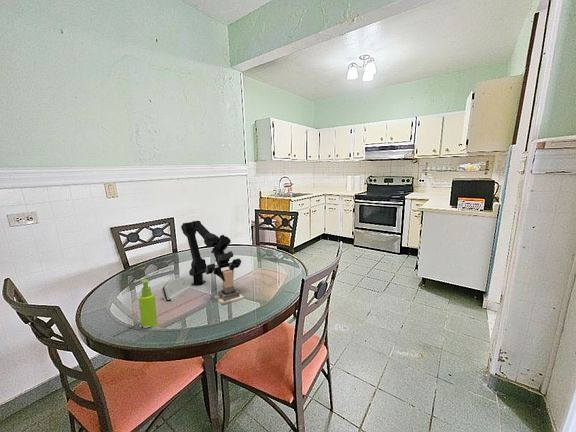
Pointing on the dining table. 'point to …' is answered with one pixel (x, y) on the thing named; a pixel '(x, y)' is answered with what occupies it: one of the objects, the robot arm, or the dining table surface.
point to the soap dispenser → (147, 305)
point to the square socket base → (228, 297)
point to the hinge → (175, 289)
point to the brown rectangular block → (228, 281)
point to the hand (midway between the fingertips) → (228, 279)
